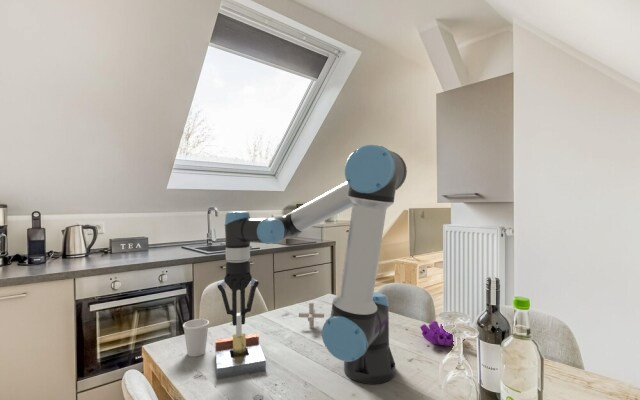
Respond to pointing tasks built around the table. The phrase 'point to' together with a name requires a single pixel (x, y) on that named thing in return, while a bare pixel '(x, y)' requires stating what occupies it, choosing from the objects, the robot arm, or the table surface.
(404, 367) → the table surface
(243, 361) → the jig
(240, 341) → the brass cylinder
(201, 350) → the dixie cup
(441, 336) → the pipe connector assembly
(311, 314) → the pipe connector
